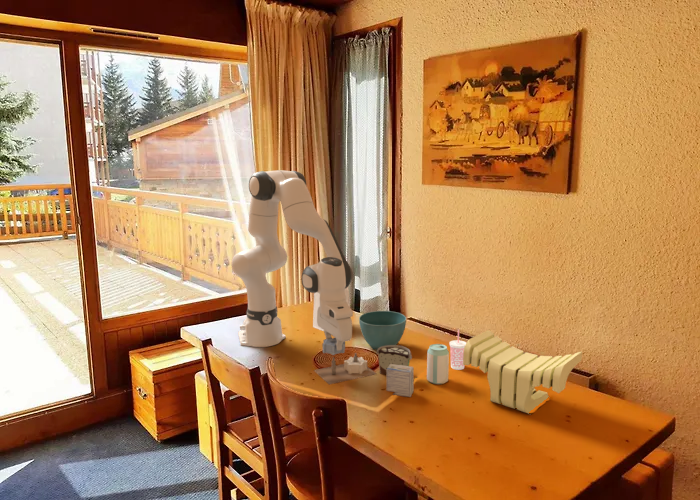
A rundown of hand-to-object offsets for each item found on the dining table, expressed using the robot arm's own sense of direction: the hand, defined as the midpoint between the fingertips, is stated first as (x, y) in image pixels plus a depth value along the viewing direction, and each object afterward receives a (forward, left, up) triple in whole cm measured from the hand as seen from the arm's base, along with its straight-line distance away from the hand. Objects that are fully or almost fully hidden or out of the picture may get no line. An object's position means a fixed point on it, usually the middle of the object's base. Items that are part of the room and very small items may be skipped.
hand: (333, 346), depth 183 cm
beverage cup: (+12, +43, -12) cm, 46 cm away
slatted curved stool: (+42, +43, -12) cm, 61 cm away
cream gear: (0, +8, -10) cm, 13 cm away
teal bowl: (-17, +29, -12) cm, 35 cm away
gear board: (0, +4, -11) cm, 12 cm away
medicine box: (+20, +14, -12) cm, 27 cm away
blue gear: (0, 0, -2) cm, 2 cm away
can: (+18, +30, -12) cm, 37 cm away
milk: (-49, +22, -12) cm, 54 cm away
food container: (+8, +20, -12) cm, 24 cm away
